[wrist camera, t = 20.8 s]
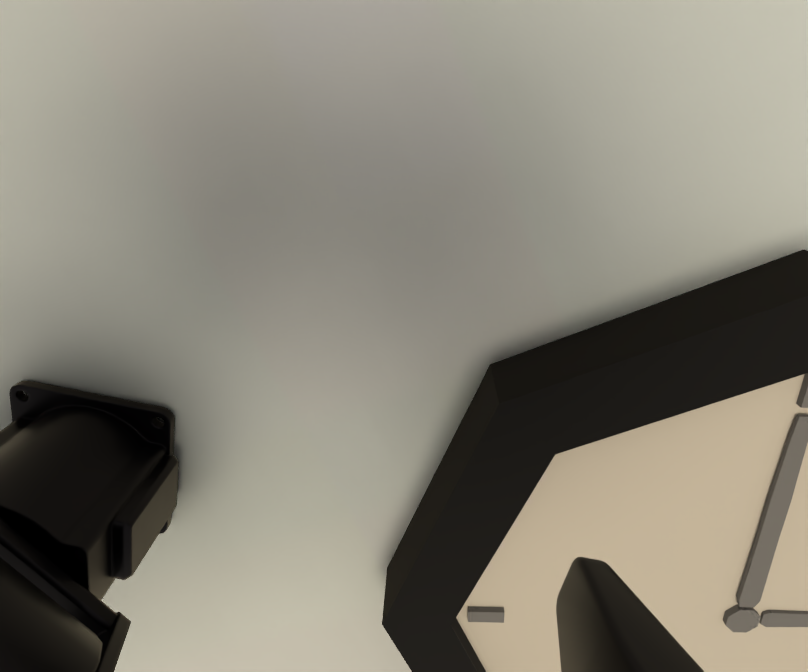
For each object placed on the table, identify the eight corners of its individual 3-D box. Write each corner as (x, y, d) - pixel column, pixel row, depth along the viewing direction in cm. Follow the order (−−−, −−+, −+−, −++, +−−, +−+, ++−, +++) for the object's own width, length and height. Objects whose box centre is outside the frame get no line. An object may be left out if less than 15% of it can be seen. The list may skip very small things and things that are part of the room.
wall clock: (393, 825, 28) (362, 279, 17) (396, 762, 31) (371, 255, 19) (993, 850, 27) (1427, 268, 15) (940, 781, 29) (1274, 243, 18)
